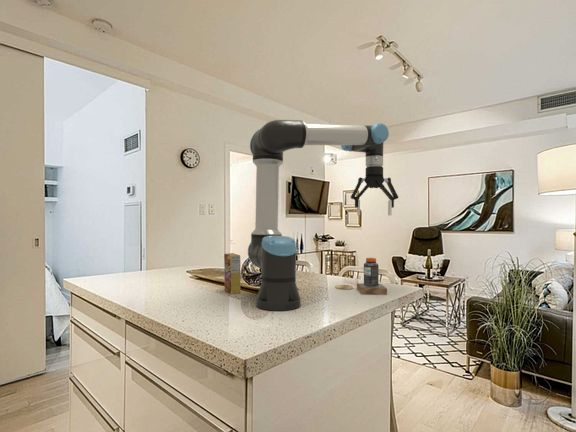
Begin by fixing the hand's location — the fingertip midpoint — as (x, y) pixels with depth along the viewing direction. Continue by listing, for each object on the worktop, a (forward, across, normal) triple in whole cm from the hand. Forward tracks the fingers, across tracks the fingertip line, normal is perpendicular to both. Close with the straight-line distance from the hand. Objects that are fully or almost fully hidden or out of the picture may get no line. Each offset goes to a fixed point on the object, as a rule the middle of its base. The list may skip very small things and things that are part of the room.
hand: (374, 215), depth 144 cm
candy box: (+32, -60, -11) cm, 69 cm away
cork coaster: (+32, -13, 0) cm, 34 cm away
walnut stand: (+32, -3, -8) cm, 33 cm away
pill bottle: (+29, -3, -8) cm, 30 cm away
